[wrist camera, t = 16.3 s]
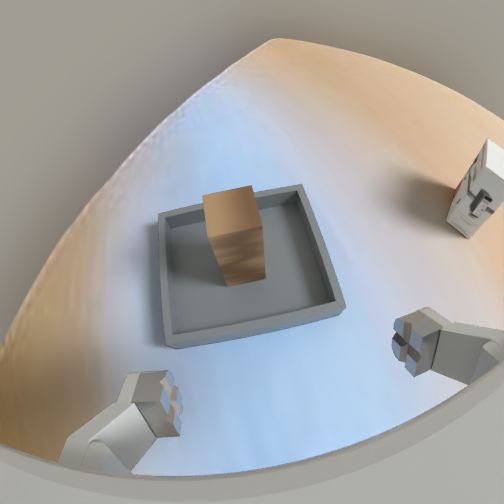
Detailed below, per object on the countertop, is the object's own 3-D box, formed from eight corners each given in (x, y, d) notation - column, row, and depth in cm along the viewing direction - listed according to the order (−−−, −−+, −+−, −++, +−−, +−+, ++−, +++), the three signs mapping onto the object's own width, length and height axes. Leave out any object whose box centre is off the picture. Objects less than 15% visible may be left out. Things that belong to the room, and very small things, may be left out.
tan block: (227, 286, 29) (207, 237, 20) (222, 253, 30) (202, 195, 22) (265, 278, 29) (262, 226, 20) (257, 245, 31) (251, 185, 22)
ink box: (454, 187, 34) (487, 134, 24) (477, 204, 32) (512, 155, 22) (444, 221, 31) (485, 165, 21) (469, 241, 29) (514, 190, 19)
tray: (175, 349, 26) (165, 344, 24) (166, 227, 33) (158, 213, 31) (339, 315, 27) (346, 306, 24) (300, 199, 34) (301, 184, 31)
